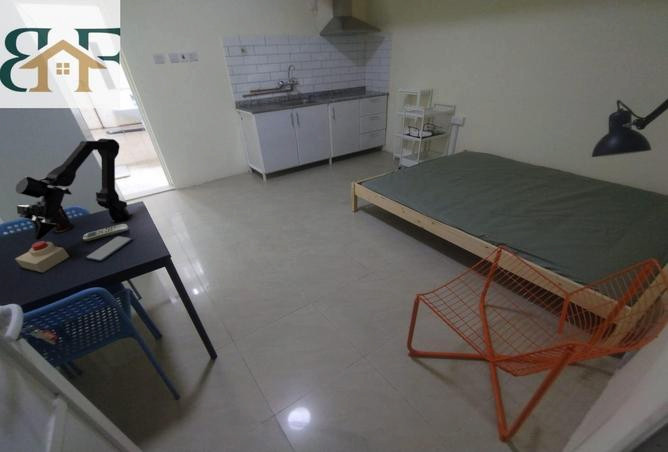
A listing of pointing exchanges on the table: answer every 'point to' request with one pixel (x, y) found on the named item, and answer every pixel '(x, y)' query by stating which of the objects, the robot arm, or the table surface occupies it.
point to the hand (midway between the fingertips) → (37, 239)
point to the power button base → (42, 258)
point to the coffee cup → (60, 227)
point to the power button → (39, 245)
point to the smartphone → (109, 248)
